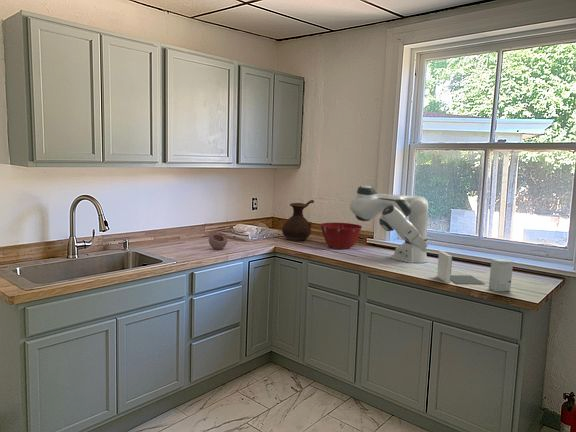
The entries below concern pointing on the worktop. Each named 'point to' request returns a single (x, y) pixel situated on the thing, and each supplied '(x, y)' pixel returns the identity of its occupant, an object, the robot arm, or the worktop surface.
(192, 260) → the worktop surface
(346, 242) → the mixing bowl
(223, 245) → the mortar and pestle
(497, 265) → the skincare box
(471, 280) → the mat
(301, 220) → the jug
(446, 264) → the tile
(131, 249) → the worktop surface
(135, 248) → the worktop surface
